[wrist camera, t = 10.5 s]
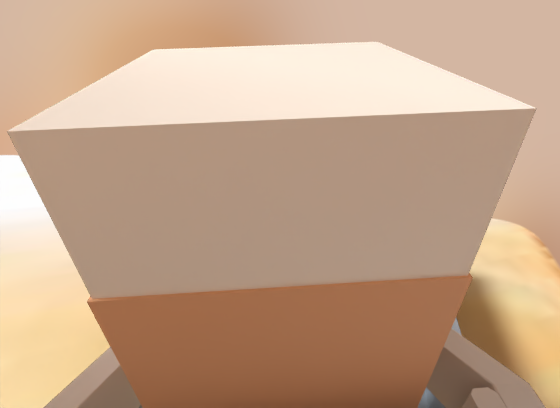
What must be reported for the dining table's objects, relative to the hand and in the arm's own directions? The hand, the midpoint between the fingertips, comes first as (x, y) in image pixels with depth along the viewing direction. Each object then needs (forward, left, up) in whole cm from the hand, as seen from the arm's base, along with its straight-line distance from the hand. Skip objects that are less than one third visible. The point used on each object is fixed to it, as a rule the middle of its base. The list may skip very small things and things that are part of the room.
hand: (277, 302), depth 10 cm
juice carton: (0, -1, -9) cm, 9 cm away
